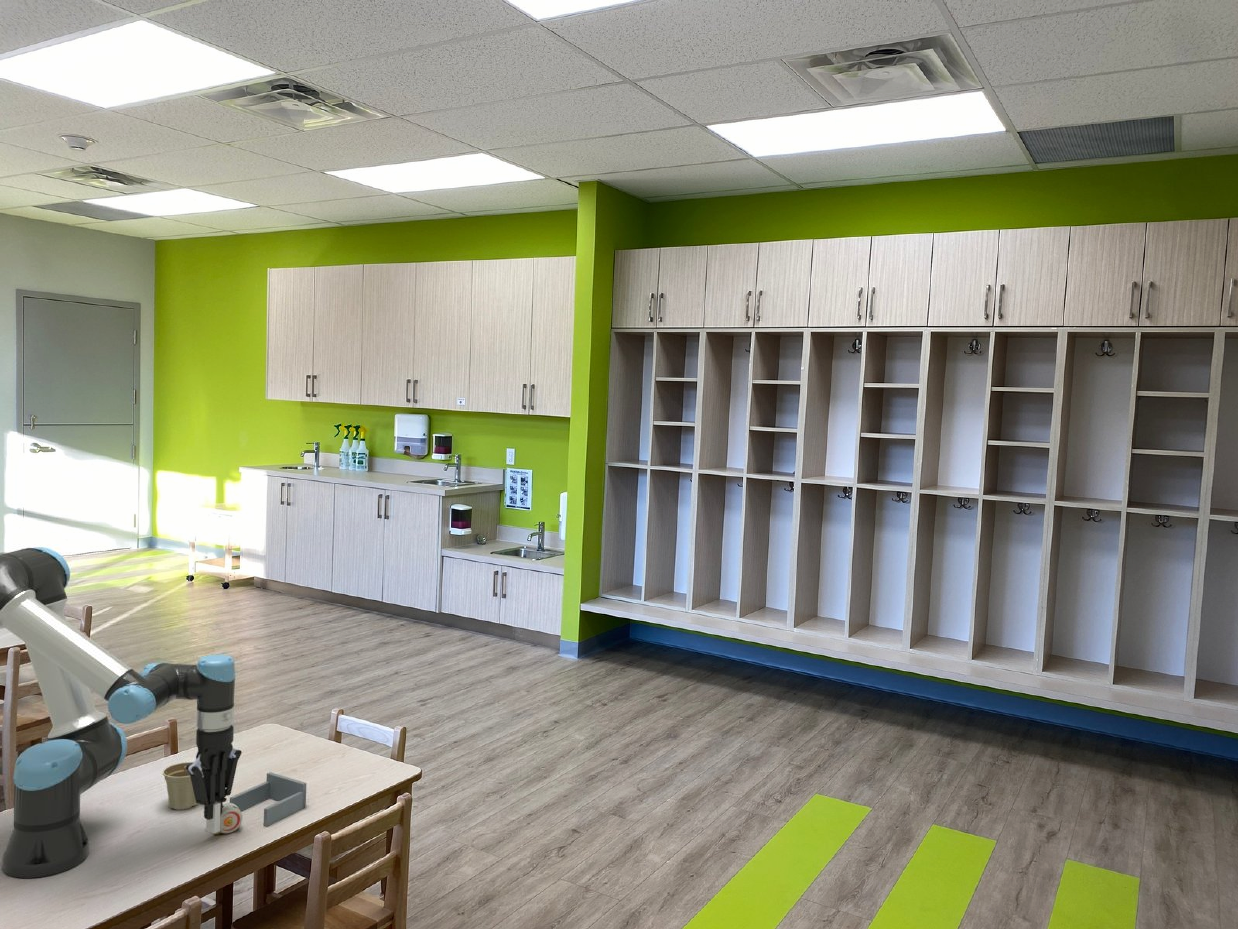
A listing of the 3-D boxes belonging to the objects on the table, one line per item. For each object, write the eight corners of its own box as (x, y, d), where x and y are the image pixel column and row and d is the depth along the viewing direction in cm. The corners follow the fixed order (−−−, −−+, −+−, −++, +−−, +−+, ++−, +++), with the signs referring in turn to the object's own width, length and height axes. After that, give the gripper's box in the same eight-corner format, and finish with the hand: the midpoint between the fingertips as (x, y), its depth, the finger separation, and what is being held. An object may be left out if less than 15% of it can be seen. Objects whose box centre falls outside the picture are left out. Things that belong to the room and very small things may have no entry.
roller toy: (244, 831, 203) (245, 806, 203) (214, 838, 199) (215, 813, 199) (239, 824, 207) (240, 799, 206) (209, 830, 203) (210, 805, 203)
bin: (266, 826, 206) (267, 801, 206) (229, 814, 211) (230, 789, 211) (305, 807, 217) (306, 783, 217) (269, 795, 222) (269, 772, 222)
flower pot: (155, 803, 215) (156, 767, 215) (196, 793, 222) (197, 758, 221) (169, 817, 208) (170, 780, 208) (211, 806, 215) (212, 770, 215)
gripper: (201, 738, 191) (199, 847, 192) (251, 721, 202) (248, 824, 203) (177, 731, 194) (175, 838, 195) (227, 715, 206) (225, 816, 207)
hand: (212, 831), depth 199 cm, fingers closed
